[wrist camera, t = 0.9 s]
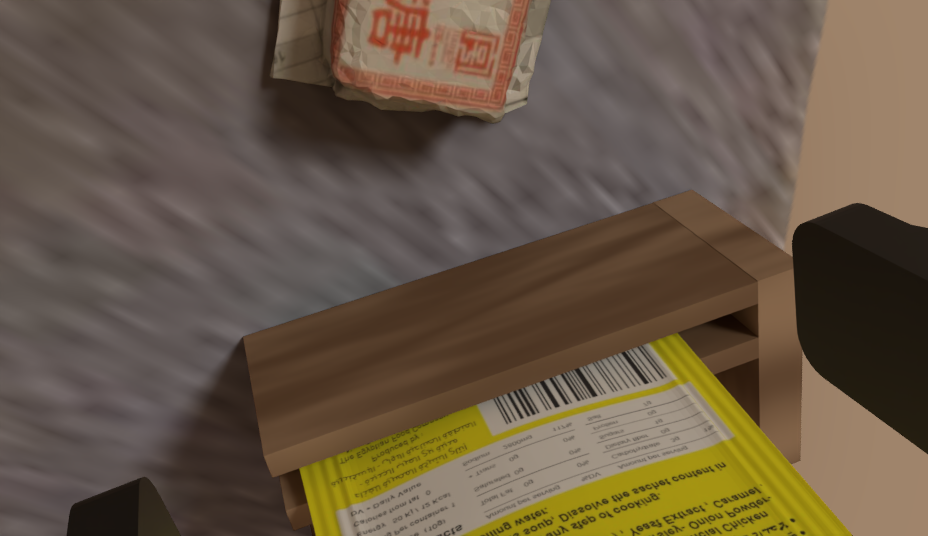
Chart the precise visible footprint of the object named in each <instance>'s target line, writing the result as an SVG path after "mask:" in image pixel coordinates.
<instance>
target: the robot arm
mask: <svg viewBox="0 0 928 536" xmlns="http://www.w3.org/2000/svg"><path fill="white" fill-rule="evenodd" d="M792 251H793V270H794V288H795V306H796V325H797V334H798V339H799V342H800V345H801V347H802V350H803V352H804V354H805V356H806V358H807V359H808V361H809V362H810V364H811V365H812V366H813V368H814V369H815V370H816V371H817V372H818V373H819V374H820V375H821V376H822V377H823V378H825V379H826V380H827V381H829V382H830V383H831V384H833V385H834V386H836V387H837V388H838V389H840V390H841V391H842V392H844V393H845V394H846V395H848V396H849V397H850V398H852V399H853V400H855V401H856V402H857V403H859V404H860V405H862V406H863V407H864V408H865V409H867V410H868V411H870V412H871V413H872V414H874V415H875V416H876V417H878V418H879V419H880V420H882V421H883V422H885V423H886V424H887V425H889V426H890V427H892V428H893V429H894V430H896V431H897V432H898V433H900V434H901V435H902V436H904V437H905V438H906V439H908V440H909V441H910V442H912V443H913V444H915V445H916V446H917V447H919V448H920V449H921V450H923V451H924V452H926V453H927V454H928V228H925V227H920V226H914V225H910V224H908V223H906V222H904V221H901V220H899V219H897V218H895V217H892V216H890V215H888V214H886V213H883V212H881V211H879V210H877V209H875V208H872V207H870V206H868V205H865V204H860V203H855V204H851V205H848V206H846V207H843V208H841V209H838V210H835V211H833V212H831V213H828V214H825V215H823V216H820V217H817V218H815V219H812V220H810V221H807V222H805V223H802V224H800V225H799V226H798V227H797V228H796V230H795V232H794V235H793V240H792ZM67 536H181V535H180V533H179V531H178V529H177V528H176V526H175V524H174V522H173V520H172V518H171V516H170V514H169V512H168V511H167V509H166V507H165V505H164V503H163V501H162V499H161V497H160V495H159V494H158V492H157V490H156V488H155V487H154V485H153V484H152V483H151V481H150V480H149V479H147V478H146V477H142V478H139V479H137V480H134V481H132V482H129V483H126V484H124V485H121V486H119V487H116V488H113V489H111V490H108V491H106V492H103V493H101V494H98V495H95V496H93V497H90V498H88V499H85V500H83V501H80V502H77V503H75V504H74V505H73V506H72V508H71V510H70V515H69V522H68V529H67Z"/></svg>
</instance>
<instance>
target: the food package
mask: <svg viewBox="0 0 928 536" xmlns="http://www.w3.org/2000/svg"><path fill="white" fill-rule="evenodd" d="M299 470H300V474H301V478H302V482H303V486H304V490H305V494H306V499H307V503H308V507H309V511H310V515H311V519H312V523H313V527H314V531H315V535H316V536H853V535H852V534H851V533H850V532H849V531H848V530H847V528H846V527H845V526H844V525H843V524H842V523H841V522H840V520H839V519H838V518H837V517H836V516H835V515H834V513H833V512H832V511H831V510H830V509H829V508H828V506H826V504H825V503H824V502H823V501H822V500H821V498H820V497H819V496H818V495H817V494H816V493H815V492H814V490H813V489H812V488H811V487H810V486H809V485H808V483H807V482H806V481H805V480H804V479H803V478H802V477H801V475H800V474H799V473H798V472H797V471H796V470H795V468H794V467H793V466H792V465H791V464H790V463H789V462H788V460H787V459H786V458H785V457H784V456H783V455H782V453H781V452H780V451H779V450H778V449H777V448H776V447H775V445H774V444H773V443H772V442H771V441H770V440H769V438H768V437H767V436H766V435H765V434H764V433H763V431H762V430H761V429H760V428H759V427H758V426H757V425H756V423H755V422H754V421H753V420H752V419H751V418H750V416H749V415H748V414H747V413H746V412H745V411H744V410H743V408H742V407H741V406H740V405H739V404H738V403H737V401H736V400H735V399H734V398H733V397H732V396H731V394H730V393H729V392H728V391H727V390H726V389H725V388H724V386H723V385H722V384H721V383H720V382H719V381H718V379H717V378H716V377H715V376H714V375H713V374H712V373H711V371H710V370H709V369H708V368H707V367H706V366H705V364H704V363H703V362H702V361H701V360H700V359H699V358H698V356H697V355H696V354H695V353H694V352H693V351H692V349H691V348H690V347H689V346H688V345H687V344H686V342H685V341H684V340H683V339H682V338H681V337H680V336H679V334H678V333H675V334H672V335H669V336H666V337H664V338H661V339H658V340H655V341H653V342H650V343H647V344H644V345H641V346H639V347H636V348H633V349H630V350H627V351H625V352H622V353H619V354H616V355H613V356H611V357H608V358H605V359H602V360H600V361H597V362H594V363H591V364H588V365H586V366H583V367H580V368H577V369H574V370H572V371H569V372H566V373H563V374H561V375H558V376H555V377H552V378H549V379H547V380H544V381H541V382H538V383H535V384H533V385H530V386H527V387H524V388H522V389H519V390H516V391H513V392H510V393H508V394H505V395H502V396H499V397H496V398H494V399H491V400H488V401H485V402H482V403H480V404H477V405H474V406H471V407H469V408H466V409H463V410H460V411H457V412H455V413H452V414H449V415H446V416H443V417H441V418H438V419H435V420H432V421H430V422H427V423H424V424H421V425H418V426H416V427H413V428H410V429H407V430H404V431H402V432H399V433H396V434H393V435H391V436H388V437H385V438H382V439H379V440H377V441H374V442H371V443H368V444H365V445H363V446H360V447H357V448H354V449H351V450H349V451H346V452H343V453H340V454H338V455H335V456H332V457H329V458H326V459H324V460H321V461H318V462H315V463H312V464H310V465H307V466H304V467H301V468H299Z"/></svg>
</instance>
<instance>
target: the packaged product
mask: <svg viewBox="0 0 928 536" xmlns="http://www.w3.org/2000/svg"><path fill="white" fill-rule="evenodd" d="M550 2H551V0H280V6H279V20H278V33H277V41H276V46H275V51H274V57H273V62H272V67H271V72H270V77H272V78H280V79H286V80H292V81H298V82H303V83H309V84H316V85H322V86H329V87H333V90H334V91H335V96H338V97H340V98H343V99H346V100H361V101H365V102H369V103H370V104H372V105H373V106H375V107H377V108H378V109H380V110H396V111H414V112H425V111H431V110H439V111H442V112H445V113H450V114H453V115H455V116H458V117H459V116H463V115H470V116H476V117H478V118H480V119H481V120H484V121H487V122H491V123H497V122H500V121H501V119H502V118H503V116H504V114H505V113H507V112H509V111H512V110H514V109H516V108H519V107H521V106H523V105H526V104H527V97H528V89H529V81H530V79H531V77H532V75H533V72H534V65H535V60H536V56H537V53H538V50H539V46H540V43H541V39H542V35H543V30H544V26H545V22H546V18H547V14H548V10H549V6H550Z"/></svg>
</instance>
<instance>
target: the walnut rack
mask: <svg viewBox="0 0 928 536" xmlns="http://www.w3.org/2000/svg"><path fill="white" fill-rule="evenodd" d="M675 333H678V334H679V336H680V337H681V338H682V339H683V340H684V341H685V342H686V344H687V345H688V346H689V347H690V348H691V349H692V351H693V352H694V353H695V354H696V355H697V356H698V358H699V359H700V360H701V361H702V362H703V363H704V364H705V366H706V367H707V368H708V369H709V370H710V371H711V373H712V374H713V375H714V376H715V377H716V378H717V379H718V381H719V382H720V383H721V384H722V385H723V386H724V388H725V389H726V390H727V391H728V392H729V393H730V394H731V396H732V397H733V398H734V399H735V400H736V401H737V403H738V404H739V405H740V406H741V407H742V408H743V410H744V411H745V412H746V413H747V414H748V415H749V416H750V418H751V419H752V420H753V421H754V422H755V423H756V425H757V426H758V427H759V428H760V429H761V430H762V431H763V433H764V434H765V435H766V436H767V437H768V438H769V440H770V441H771V442H772V443H773V444H774V445H775V447H776V448H777V449H778V450H779V451H780V452H781V453H782V455H783V456H784V457H785V458H786V459H787V460H788V462H789V463H790V464H793V463H796V462H798V461H800V448H801V447H800V446H801V396H802V394H801V393H802V347H801V345H800V342H799V339H798V334H797V325H796V306H795V288H794V270H793V257H791V256H790V255H789V254H787V253H786V252H784V251H783V250H781V249H780V248H778V247H777V246H775V245H774V244H772V243H771V242H769V241H768V240H766V239H765V238H763V237H762V236H760V235H759V234H757V233H756V232H754V231H753V230H751V229H750V228H748V227H747V226H745V225H744V224H742V223H741V222H739V221H738V220H736V219H735V218H733V217H732V216H731V215H729V214H728V213H726V212H725V211H723V210H722V209H720V208H719V207H717V206H716V205H714V204H713V203H711V202H710V201H708V200H707V199H705V198H704V197H702V196H701V195H699V194H698V193H696V192H695V191H693V190H690V191H687V192H684V193H681V194H678V195H675V196H672V197H668V198H665V199H662V200H659V201H656V202H653V203H651V204H648V205H645V206H642V207H639V208H636V209H633V210H630V211H627V212H624V213H621V214H618V215H615V216H611V217H608V218H605V219H602V220H599V221H596V222H593V223H590V224H587V225H584V226H581V227H578V228H575V229H572V230H569V231H566V232H562V233H559V234H556V235H553V236H550V237H547V238H544V239H541V240H538V241H535V242H532V243H529V244H526V245H523V246H520V247H516V248H513V249H510V250H507V251H504V252H501V253H498V254H495V255H492V256H489V257H486V258H483V259H480V260H477V261H474V262H471V263H467V264H464V265H461V266H458V267H455V268H452V269H449V270H446V271H443V272H440V273H437V274H434V275H431V276H428V277H425V278H422V279H418V280H415V281H412V282H409V283H406V284H403V285H400V286H397V287H394V288H391V289H388V290H385V291H382V292H379V293H376V294H372V295H369V296H366V297H363V298H360V299H357V300H354V301H351V302H348V303H345V304H342V305H339V306H336V307H333V308H330V309H327V310H323V311H320V312H317V313H314V314H311V315H308V316H305V317H302V318H299V319H296V320H293V321H290V322H287V323H284V324H281V325H277V326H274V327H271V328H268V329H265V330H262V331H259V332H256V333H253V334H250V335H247V336H244V337H243V340H244V345H245V351H246V357H247V363H248V368H249V374H250V380H251V386H252V391H253V397H254V403H255V409H256V415H257V420H258V426H259V432H260V438H261V443H262V449H263V455H264V458H265V461H266V463H267V466H268V468H269V471H270V473H271V475H272V478H273V477H276V476H279V478H280V483H281V489H282V494H283V499H284V504H285V509H286V513H287V515H288V518H289V520H290V523H291V525H292V528H293V530H294V531H295V530H297V529H300V528H303V527H305V526H308V525H310V527H311V532H312V536H316V535H315V531H314V527H313V523H312V519H311V515H310V511H309V507H308V503H307V499H306V494H305V490H304V486H303V482H302V478H301V474H300V470H299V468H301V467H304V466H307V465H310V464H312V463H315V462H318V461H321V460H324V459H326V458H329V457H332V456H335V455H338V454H340V453H343V452H346V451H349V450H351V449H354V448H357V447H360V446H363V445H365V444H368V443H371V442H374V441H377V440H379V439H382V438H385V437H388V436H391V435H393V434H396V433H399V432H402V431H404V430H407V429H410V428H413V427H416V426H418V425H421V424H424V423H427V422H430V421H432V420H435V419H438V418H441V417H443V416H446V415H449V414H452V413H455V412H457V411H460V410H463V409H466V408H469V407H471V406H474V405H477V404H480V403H482V402H485V401H488V400H491V399H494V398H496V397H499V396H502V395H505V394H508V393H510V392H513V391H516V390H519V389H522V388H524V387H527V386H530V385H533V384H535V383H538V382H541V381H544V380H547V379H549V378H552V377H555V376H558V375H561V374H563V373H566V372H569V371H572V370H574V369H577V368H580V367H583V366H586V365H588V364H591V363H594V362H597V361H600V360H602V359H605V358H608V357H611V356H613V355H616V354H619V353H622V352H625V351H627V350H630V349H633V348H636V347H639V346H641V345H644V344H647V343H650V342H653V341H655V340H658V339H661V338H664V337H666V336H669V335H672V334H675Z"/></svg>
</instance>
